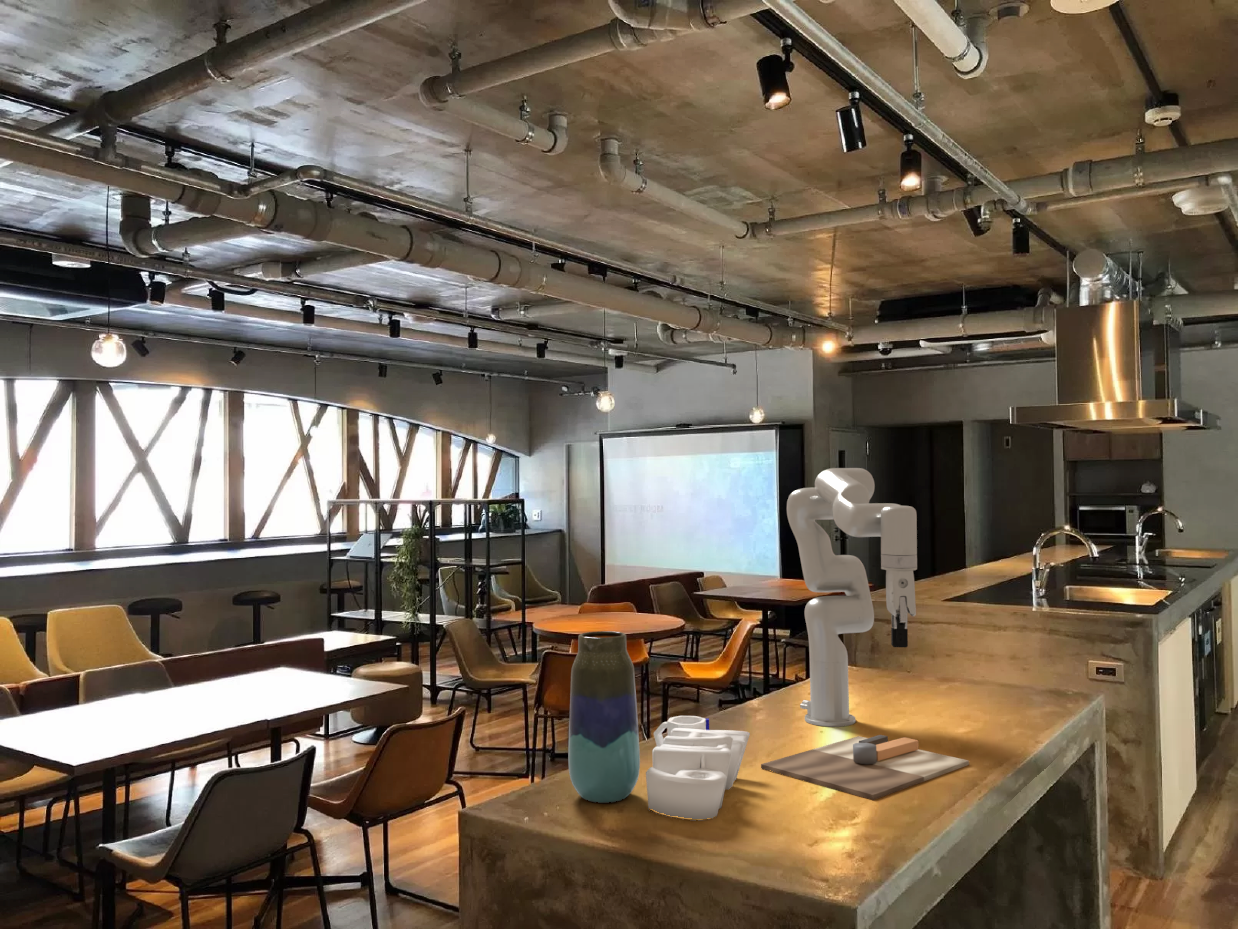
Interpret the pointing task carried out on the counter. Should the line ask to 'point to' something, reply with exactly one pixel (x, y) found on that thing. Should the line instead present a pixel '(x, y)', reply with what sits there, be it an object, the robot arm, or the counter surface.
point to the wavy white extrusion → (694, 771)
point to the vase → (603, 719)
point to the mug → (679, 726)
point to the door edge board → (864, 768)
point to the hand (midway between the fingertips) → (899, 646)
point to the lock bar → (882, 750)
